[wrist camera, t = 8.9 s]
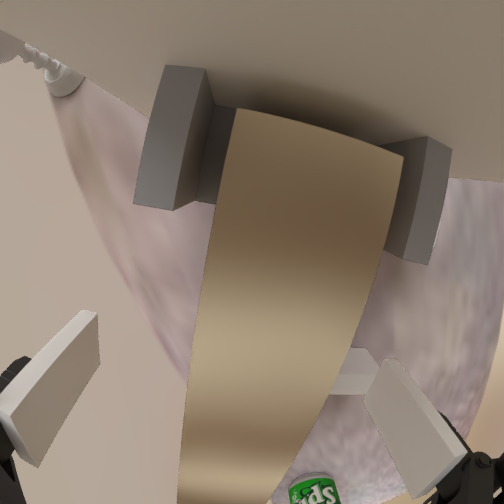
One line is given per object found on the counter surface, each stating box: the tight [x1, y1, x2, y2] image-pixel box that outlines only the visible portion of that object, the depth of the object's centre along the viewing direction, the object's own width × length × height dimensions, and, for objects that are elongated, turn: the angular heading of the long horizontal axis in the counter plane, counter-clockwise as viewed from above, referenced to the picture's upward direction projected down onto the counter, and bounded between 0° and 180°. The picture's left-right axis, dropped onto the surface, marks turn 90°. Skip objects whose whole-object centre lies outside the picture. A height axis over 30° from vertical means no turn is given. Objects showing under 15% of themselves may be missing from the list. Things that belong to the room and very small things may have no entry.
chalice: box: [0, 29, 84, 97], centre depth 11 cm, size 7×7×18 cm
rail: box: [177, 108, 404, 504], centre depth 10 cm, size 18×4×4 cm, turn 168°
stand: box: [329, 219, 441, 395], centre depth 24 cm, size 18×6×5 cm, turn 168°
